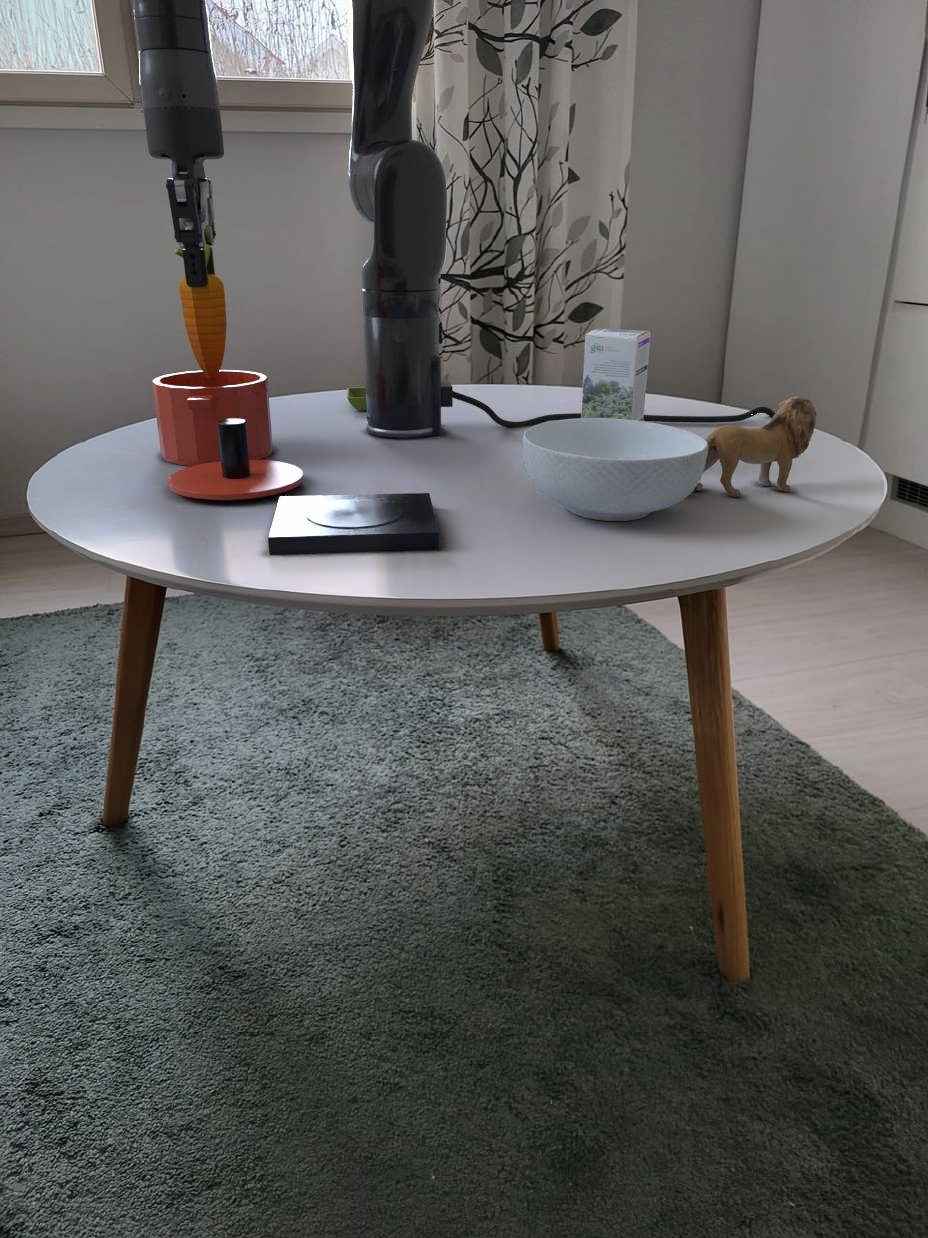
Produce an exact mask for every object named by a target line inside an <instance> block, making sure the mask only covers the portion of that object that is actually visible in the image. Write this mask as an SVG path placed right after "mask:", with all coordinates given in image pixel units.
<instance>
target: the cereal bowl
mask: <svg viewBox="0 0 928 1238" xmlns="http://www.w3.org/2000/svg"><path fill="white" fill-rule="evenodd" d="M707 454H708V443H707V441H706V439H705V438H704V437H702V436H701V435H699V434H696V433H694V432H692V431H690V430H686V429H683V428H679V427H675V426H672V425H666V424H661V423H658V422H652V421H636V420H626V419H611V418H577V419H564V420H554V421H547V422H542V423H538V424H535V425H532V426H531V427H529V428H528V429H526V430H525V431H524V433H523V435H522V460H523V465H524V470H525V473H526V475H527V478H528V479H529V481H530V483H532V485H533V487H535V488H536V490H537V491H538V492H540V493H541V494H542V495H544V496H545V497H546V498H548V499H549V500H551V501H554V502H556V503H557V504H560V505H562V506H565V507H566V509H567V510H568V511H569V512H570V513H572V514H574V515H576V516H578V517H579V516H580V517H583V518H587V519H590V520H597V521H606V522H627V521H635V520H641V519H643V518H645V517H647V516H649V515H650V514H651V513H652V512H657V511H662V510H665V509H667V508H670V507H672V506H674V505H677V504H679V503H680V502H682V501H683V500H685V499H686V498H687V497H689V496H690V495H691V492H692V491H693V490H694V489H695V488H696V486H697V485H698V483H700V481H701V479H702V476H703V474H704V472H705V471H704V467H705V464H706V458H707ZM703 471H704V472H703Z"/></svg>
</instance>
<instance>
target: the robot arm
mask: <svg viewBox="0 0 928 1238" xmlns="http://www.w3.org/2000/svg"><path fill="white" fill-rule="evenodd" d="M132 1H133V2H132V4H133V5H132V7H133V17H134V27H135V28H134V29H135V36H136V42H137V48H138V49H137V52H138V59H139V60H138V61H139V62H138V63H139V67H138V68H139V69H138V70H139V74H138V75H139V87H140V94H141V95H140V96H141V103H142V110H143V119H144V125H145V132H146V133H145V134H146V141H147V149H148V154H149V156H150V157H152V158H153V159H157V160H171V177H172V178H167V179H166V183H165V189H166V191H167V195H168V202H169V207H170V213H171V214H170V215H171V219H172V225H173V232H174V234H173V237H174V239H175V242H176V243H178V246H179V247H180V248H179V249H181V250H182V251H183V258H182V259H183V267H184V277H186V284H187V285H188V286H189V287H206V286H207V285H208V274H212V275H216V270H215V261H214V251H213V247H214V245H215V244H214V243H215V240H216V237H217V232H216V228H215V219H216V218H215V212H214V211H215V210H214V201H213V199H214V198H213V194H214V189H213V182H212V179H211V178H206V173H205V172H206V171H205V166H204V161H207V160H220V159H222V158H223V157H224V156H225V146H224V137H223V136H224V135H223V126H222V115H221V105H220V95H219V86H218V85H219V84H218V78H217V73H216V69H215V64H214V59H213V51H212V41H211V31H210V30H211V29H210V21H209V20H210V19H209V14H208V8H207V0H132ZM349 1H350V20H351V21H350V22H351V60H352V62H351V63H352V64H351V65H352V85H353V86H352V87H353V89H352V91H353V92H352V94H353V95H352V117H351V120H352V121H351V132H350V133H351V134H350V148H349V159H348V160H349V162H348V186H349V187H348V188H349V193H350V198H351V201H352V203H353V206H354V208H355V210H356V211H357V213H358V214H359V216H360V217H361V218H362V219H363V220H365V221H366V222H367V223H369V224H370V225H372V226H373V244H372V245H373V246H372V250H371V253H370V256H369V257H368V259H367V260H366V261H365V263H364V264H363V265H362V269H361V288H362V310H363V311H362V314H363V341H364V342H363V343H364V367H365V369H364V371H365V387H366V402H367V410H366V432H367V433H369V434H370V435H374V436H378V437H384V438H393V439H394V438H395V439H396V438H397V439H398V438H399V439H409V438H421V437H428V436H434V435H438V436H439V435H442V408H453V405H454V404H453V403H454V401H453V400H458V401H461V402H464V403H465V404H469V405H472V406H475V407H476V408H478V409H480V410H482V411H483V412H484V413H486V414H487V416H489V418H491V420H492V421H493V422H494V423H496V424H497V425H499V426H501V427H504V428H509V429H511V428H513V429H514V428H521V427H529V426H535V425H538V424H542V423H545V422H550V421H557V420H564V419H577V418H581V412H573V413H571V412H570V413H553V414H552V413H551V414H546V415H541V416H537V417H534V418H533V417H532V418H530V419H525V420H522V421H521V420H520V421H510V420H506V419H504V418H502V417H500V416H499V415H497V413H496V412H495V411H494V409H492V408H491V407H490V406H488V405H487V404H486V403H484V402H482V401H480V400H479V399H476V398H473V397H471V396H468V395H465V394H464V393H461V392H457V391H454V390H453V389H454V388H453V385H452V383H451V381H450V380H442V371H441V370H442V361H441V360H442V359H441V356H440V328H439V327H440V316H439V315H440V313H439V312H440V310H439V309H440V307H439V305H440V303H439V301H440V299H439V296H440V295H439V292H440V291H439V287H440V286H439V285H440V283H439V282H440V281H439V280H440V274H441V271H442V269H443V265H444V262H445V256H446V244H447V243H446V241H447V240H446V239H447V216H448V215H447V214H448V191H447V189H448V187H447V180H446V179H447V178H446V175H445V174H446V173H445V170H444V167H443V164H442V161H441V160H440V157H439V156H438V155H437V153H436V152H435V151H434V149H432V148H431V147H430V146H429V145H428V144H426V143H424V142H423V141H420V140H416V139H413V115H412V112H413V97H414V96H413V95H414V89H415V84H416V79H417V76H418V71H419V68H420V64H421V61H422V57H423V54H424V50H425V47H426V43H427V40H428V35H429V33H430V28H431V24H432V19H433V13H434V5H435V4H434V3H435V0H349ZM206 244H208V245H209V246H210V255H209V260H208V264H206V255H205V249H204V248H205V245H206ZM201 248H203V249H201ZM757 413H758V414H757ZM751 414H753V415H751ZM759 414H765V415H767V416H768V415H769V416H768V417H769V418H770V419H772V417H773V416H774V415H775V414H776V413H775V411H773V409H772V408H770V407H767V406H759V407H756V408H753V409H751V410H749V411H747V412H744V413H741V414H735V415H706V416H705V415H704V416H702V415H659V414H644V418H643V421H644V422H653V423H692V424H693V423H694V424H695V423H698V424H699V423H701V424H704V423H705V424H706V423H707V424H713V423H714V424H715V423H716V424H717V423H735V422H741V421H744V420H747V419H750V418H752V417H754V416H756V415H759Z"/></svg>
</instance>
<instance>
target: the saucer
mask: <svg viewBox="0 0 928 1238" xmlns="http://www.w3.org/2000/svg"><path fill="white" fill-rule="evenodd" d="M346 399H347V400H348V402H349V404H350V405H351V406H352V407H353V408H354V409H355V410H356V411H367V402H366V386H363V387H361V386H359V387H357V386H356V387H347V388H346Z"/></svg>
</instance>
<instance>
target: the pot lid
mask: <svg viewBox="0 0 928 1238" xmlns="http://www.w3.org/2000/svg"><path fill="white" fill-rule="evenodd" d="M217 428H218V438H219V448H220V457H221V461H219V462H211V463H205V464H200V465H195V466H188V467H185V468H182V469H180V470H178V471H176V472H173V473H172V474H170V476H169V477H168V479H167V484H168V488H169V490H170V491H172V492H173V493H175V494H176V495H179V496H183V497H186V498H193V499H201V500H210V501H222V502H223V501H225V502H226V501H246V500H255V499H260V498H264V497H269V496H274V495H277V494H278V495H279V494H282V493H285V492H289V491H290V490H291V491H292V490H293V489H295V488H297V487H298V486H300V485H301V484H302V483H303V481H304V479H305V478H304V471H303V470H302V468H300V467H298V466H296V465H294V464H291V463H287V462H282V461H276V460H267V459H259V460H249V450H248V439H247V428H246V421H245V420H242V419H224V420H220V421H218V422H217Z"/></svg>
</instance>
